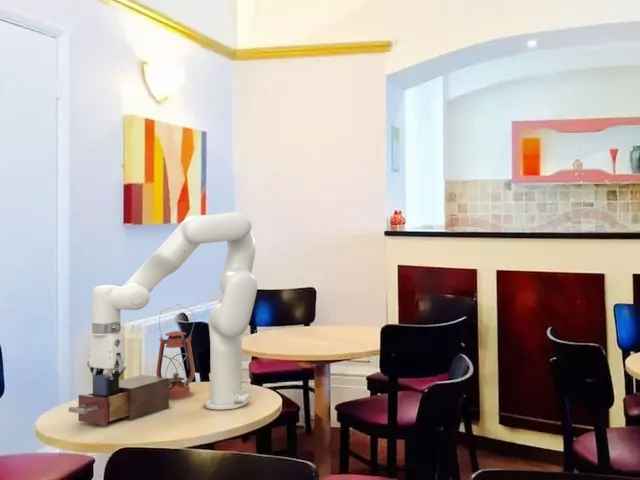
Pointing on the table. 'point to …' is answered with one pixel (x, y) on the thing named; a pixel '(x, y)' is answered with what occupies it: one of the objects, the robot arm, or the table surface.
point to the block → (101, 384)
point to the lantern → (175, 384)
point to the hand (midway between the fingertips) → (106, 391)
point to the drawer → (102, 407)
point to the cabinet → (145, 395)
